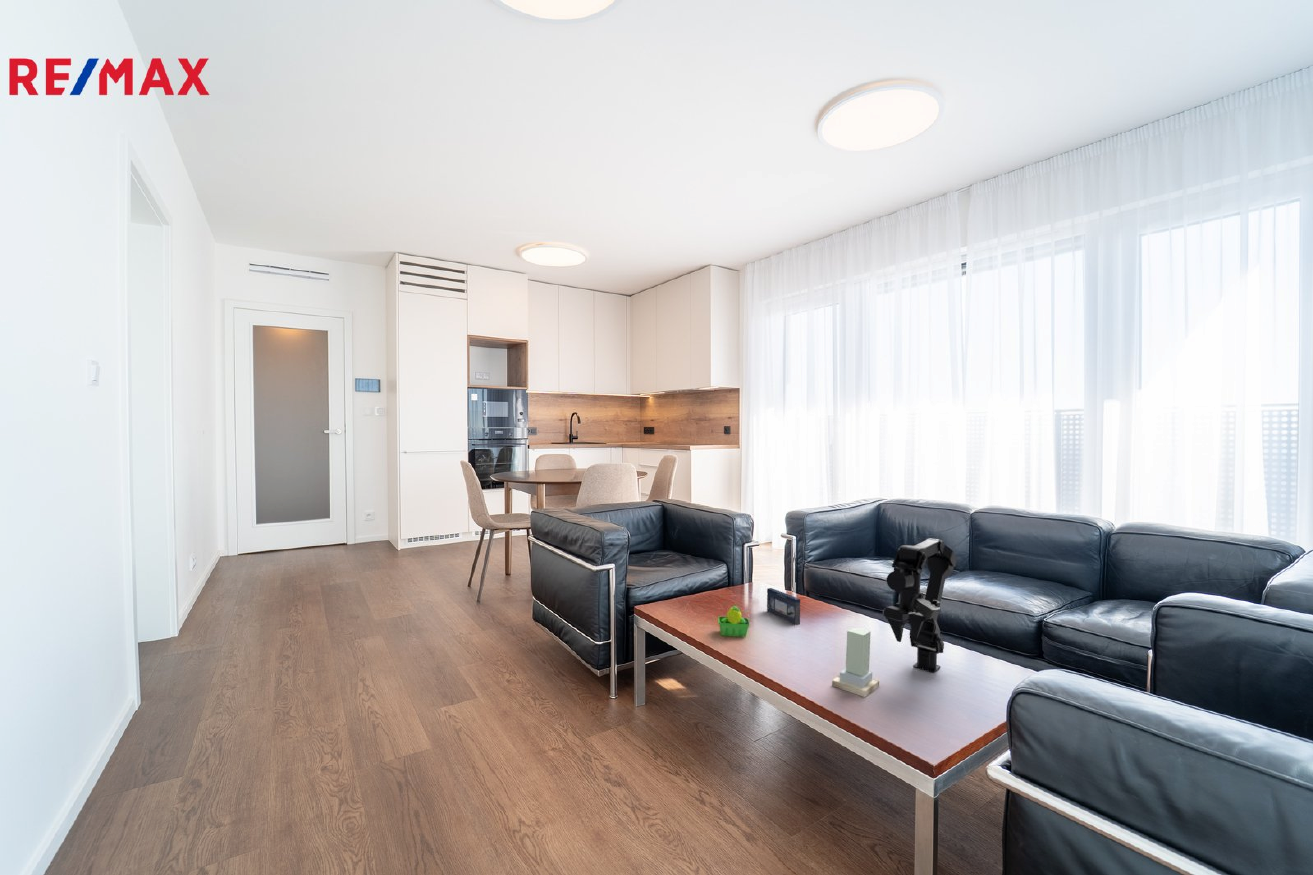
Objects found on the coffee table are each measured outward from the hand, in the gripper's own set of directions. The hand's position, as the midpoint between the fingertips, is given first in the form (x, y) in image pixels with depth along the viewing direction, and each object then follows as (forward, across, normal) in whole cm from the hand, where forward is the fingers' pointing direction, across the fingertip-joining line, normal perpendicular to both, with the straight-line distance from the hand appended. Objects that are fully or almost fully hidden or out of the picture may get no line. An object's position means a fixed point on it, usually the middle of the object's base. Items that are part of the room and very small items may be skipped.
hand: (907, 639), depth 169 cm
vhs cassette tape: (+11, +16, +62) cm, 65 cm away
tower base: (+15, -14, +7) cm, 22 cm away
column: (+10, -14, +7) cm, 19 cm away
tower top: (+12, -14, +7) cm, 20 cm away
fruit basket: (+14, -15, +59) cm, 62 cm away
